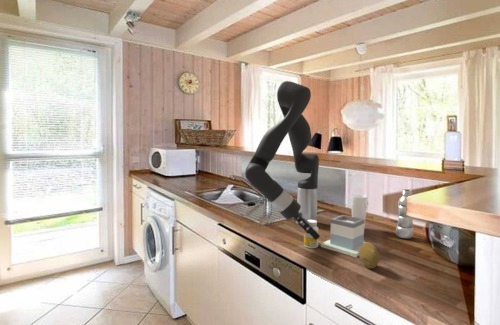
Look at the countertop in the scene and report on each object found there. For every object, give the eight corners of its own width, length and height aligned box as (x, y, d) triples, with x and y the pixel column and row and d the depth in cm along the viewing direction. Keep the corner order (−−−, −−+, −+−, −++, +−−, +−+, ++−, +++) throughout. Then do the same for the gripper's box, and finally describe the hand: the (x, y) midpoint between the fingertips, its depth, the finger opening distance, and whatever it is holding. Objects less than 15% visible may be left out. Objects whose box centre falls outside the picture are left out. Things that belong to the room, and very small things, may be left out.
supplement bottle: (308, 242, 121) (308, 218, 120) (320, 245, 117) (321, 220, 116) (301, 246, 117) (301, 221, 116) (313, 249, 113) (314, 224, 112)
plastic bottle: (391, 236, 129) (394, 189, 127) (403, 234, 132) (406, 188, 130) (405, 241, 123) (407, 192, 121) (416, 239, 126) (420, 191, 124)
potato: (360, 260, 104) (361, 237, 104) (384, 266, 99) (385, 242, 99) (352, 266, 99) (353, 242, 98) (377, 274, 94) (378, 248, 93)
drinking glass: (361, 232, 134) (362, 198, 133) (347, 228, 140) (348, 195, 138) (368, 228, 139) (370, 196, 138) (355, 225, 144) (356, 193, 143)
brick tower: (320, 246, 116) (321, 219, 115) (338, 237, 126) (339, 212, 125) (356, 257, 107) (357, 227, 106) (372, 246, 117) (373, 219, 116)
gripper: (295, 201, 108) (328, 234, 109) (289, 193, 122) (318, 223, 124) (280, 216, 108) (313, 249, 110) (276, 206, 123) (305, 235, 124)
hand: (315, 235), depth 117 cm, fingers closed on supplement bottle, 5 cm apart
